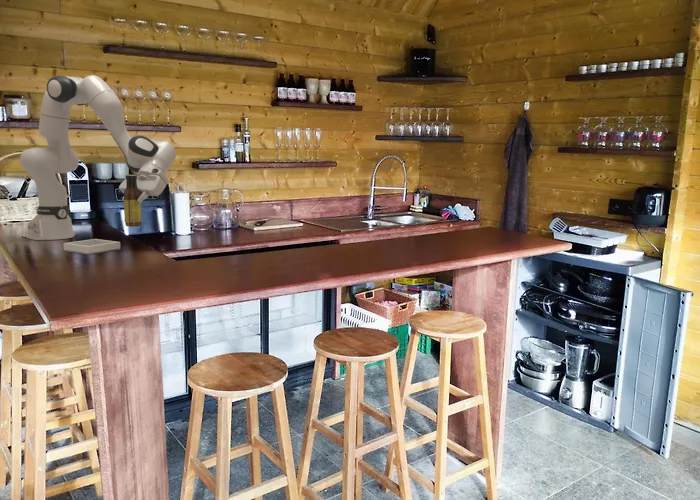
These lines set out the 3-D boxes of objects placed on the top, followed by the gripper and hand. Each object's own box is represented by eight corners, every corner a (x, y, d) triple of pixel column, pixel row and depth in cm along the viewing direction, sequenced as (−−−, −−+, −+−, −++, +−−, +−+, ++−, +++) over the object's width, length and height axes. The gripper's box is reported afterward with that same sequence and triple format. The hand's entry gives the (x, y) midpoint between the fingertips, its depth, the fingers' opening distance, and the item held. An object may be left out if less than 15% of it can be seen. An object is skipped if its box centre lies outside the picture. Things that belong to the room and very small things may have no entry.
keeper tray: (63, 251, 223) (63, 243, 222) (96, 246, 235) (95, 238, 235) (88, 254, 216) (88, 246, 215) (120, 249, 228) (120, 242, 228)
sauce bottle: (144, 225, 230) (144, 175, 226) (137, 227, 224) (137, 176, 220) (128, 223, 230) (128, 173, 227) (120, 226, 224) (120, 174, 221)
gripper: (127, 168, 234) (107, 194, 227) (163, 170, 225) (144, 197, 218) (136, 179, 239) (117, 205, 232) (172, 181, 229) (154, 208, 222)
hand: (131, 201), depth 225 cm, fingers closed on sauce bottle, 6 cm apart
